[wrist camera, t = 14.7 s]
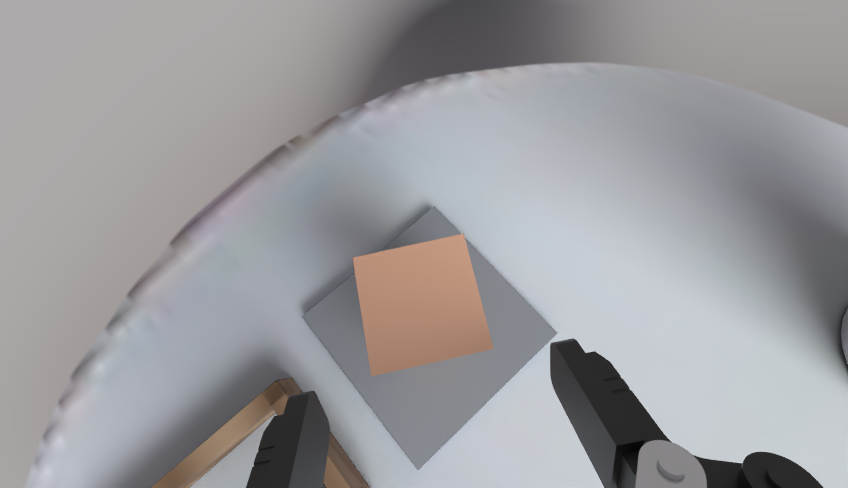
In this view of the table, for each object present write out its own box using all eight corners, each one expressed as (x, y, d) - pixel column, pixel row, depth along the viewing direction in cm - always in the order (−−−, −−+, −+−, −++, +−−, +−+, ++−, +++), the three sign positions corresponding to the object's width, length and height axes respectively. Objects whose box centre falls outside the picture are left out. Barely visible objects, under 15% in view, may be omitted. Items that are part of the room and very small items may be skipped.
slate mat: (434, 210, 27) (434, 206, 26) (553, 333, 24) (557, 333, 23) (305, 317, 25) (301, 316, 24) (418, 466, 22) (417, 470, 21)
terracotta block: (453, 285, 24) (463, 233, 14) (469, 351, 23) (493, 349, 13) (390, 299, 24) (352, 257, 14) (402, 366, 23) (371, 376, 13)
